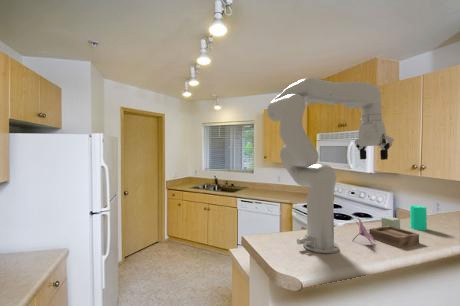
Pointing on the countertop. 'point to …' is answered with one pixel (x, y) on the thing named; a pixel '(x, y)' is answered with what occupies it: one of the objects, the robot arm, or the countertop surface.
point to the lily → (364, 232)
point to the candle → (418, 217)
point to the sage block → (390, 222)
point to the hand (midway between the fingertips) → (373, 159)
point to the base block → (394, 236)
